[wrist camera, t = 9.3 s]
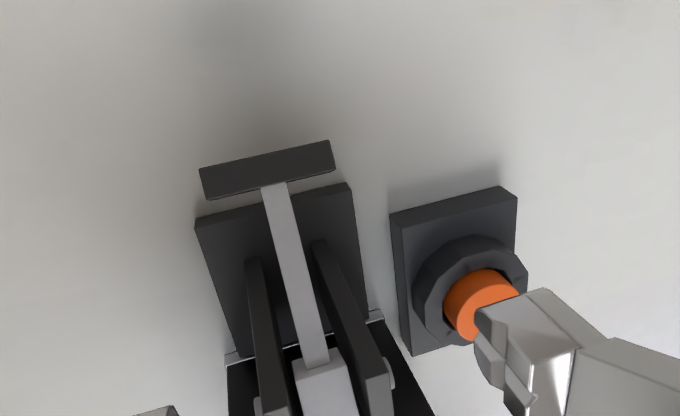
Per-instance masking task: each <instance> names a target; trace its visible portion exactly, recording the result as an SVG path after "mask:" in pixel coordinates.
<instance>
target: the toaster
mask: <svg viewBox="0 0 680 416" xmlns="http://www.w3.org/2000/svg"><path fill="white" fill-rule="evenodd" d="M365 322H366V325H367V327H368V329H369V331H370V333H371V335H372V337H373V339H374V341H375V343H376V346H377V348H378V350H379V352H380V354H381V356H382V357H385V358H386V359H387V361H388V363H389V365H390V367H391V370H392V373H393V377H394V381H395V388H394V389H392V390H391V392H392V400H393V408H394V416H435V415H434V413H433V411H432V409H431V407H430V405H429V404H428V402H427V400H426V398H425V396H424V394H423V392H422V391H421V389H420V387H419V385H418V383H417V381H416V379H415V378H414V376H413V374H412V372H411V370H410V368H409V366H408V364H407V363H406V361H405V359H404V357H403V355H402V353H401V351H400V350H399V348H398V346H397V344H396V342H395V340H394V338H393V336H392V335H391V333H390V331H389V329H388V327H387V325H386V323H385V319H384V316H383V314H382V312H381V310H380V309H378V310H374V311H371V312H369V319H368V320H365ZM324 336H325V340H326V344H327V348H328V350H329V349H332V348H335V347H337V348H338V350H339V352H340V349H339V346H338V344H337V341H336V338H335V335H334V333H333V330H331V331H328V332H325V333H324ZM282 346H283V351H284V356H285V361H286V366H287V371H288V375H289V380H290V385H291V390H292V395H293V400H294V405H295V410H296V414H297V416H304V415H303V411H302V407H301V403H300V399H299V395H298V391H297V387H296V384H295V378H294V373H293V367H292V361H293V360H297V359H300V358H303V355H302V352H301V348H300V344H299V340H298V341H295V342H292V343H288V344H285V345H282ZM340 354H341V352H340ZM341 355H342V354H341ZM224 363H225V368H226V371H227V389H228V413H229V416H256V415H255V410H254V398H256V397H260V392H259V384H258V376H257V368H256V359H255V354H252V355H249V356H245V357H242V358H240V357H239V355H238V352H234V353H231V354H227V355H225V356H224ZM350 380H351V379H350ZM351 384H352V382H351ZM352 388H353V392H354V396H355V400H356V404H357V408H358V412H359V416H364V415H363V412H362V409H361V406H360V404H359V401H358V398H357V395H356V393H355V390H354V387H353V384H352Z"/></svg>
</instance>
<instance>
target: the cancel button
mask: <svg viewBox="0 0 680 416" xmlns="http://www.w3.org/2000/svg"><path fill="white" fill-rule="evenodd" d="M516 295H519V293H518V291H517V290H516V289H515V288H514V287H513V286H512V285H511V284H510V283H509V282H508V281H507V280H506V279H505V278H504V277H503V276H502V275H500V274H499V273H498V272H496V271H494V270H491V269H478V270H474V271H471V272H468V273H466V274H465V275H464V276H463V277H461V278H460V279H459V280H458V281H456V282H455V283H454V284H453V285H452V286H451V287H450V289H449V291H448V292H447V294H446V296H445V299H444V312H445V315H446V317H447V318H448V319H449V321H450V322H451V323H452V325H453V326H454V328H455V329H456V330H457V332H458V333H459V334H460V336H462V337H463V338H464V339H466V340H469V341H473V342H474V338H475V337H476V335H477V334H478V332H479V329H478V328H477V327H476V326H475V324H474V313H475V311H476V309H477V308H480V307H483V306H486V305H489V304H492V303H495V302H498V301H501V300H504V299H507V298H510V297H513V296H516Z"/></svg>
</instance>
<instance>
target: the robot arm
mask: <svg viewBox="0 0 680 416" xmlns="http://www.w3.org/2000/svg"><path fill="white" fill-rule="evenodd" d="M474 324H475V326H476V327H477V328H478V329H479V332H478V334H477V335H476V337H475V338H474V353H475V356H476V360H477V363H478V366H479V367H480V369H481V371H482V373H483V375H484V376H485V378H486V379H487V381H488V382H489V384H490V385H492V386H494V387H496V388H498V389H500V390H502V391H504V402H503V403H504V404H505V406H506V407H507V408H508V410H509V411H510V412H511V414H512V415H513V416H680V359H677V358H674V357H671V356H669V355H666V354H663V353H660V352H657V351H654V350H651V349H648V348H645V347H642V346H639V345H636V344H633V343H631V342H628V341H625V340H622V339H619V338H616V337H614V338H610V339H607V338H606V337H605V336H604V335H602V334H601V333H600V332H599V331H598V330H596V329H595V328H594V327H593V326H592V325H591V324H589V323H588V322H587V321H586V320H585V319H584V318H582V317H581V316H580V315H579V314H578V313H576V312H575V311H574V310H573V309H572V308H571V307H569V306H568V305H567V304H566V303H565V302H564V301H562V300H561V299H560V298H559V297H558V296H556V295H555V294H554V293H553V292H552V291H551V290H549V289H547V288H544V287H542V288H539V289H535V290H532V291H529V292H526V293H523V294H521V295H516V296H513V297H510V298H507V299H504V300H501V301H498V302H495V303H492V304H489V305H486V306H483V307H480V308H477V309H476V311H475V313H474ZM134 416H179V415H178V413H177V411H176V409H175V407H174V406H170V405H169V406H165V407H162V408H159V409H155V410H152V411H148V412H145V413H141V414H138V415H134Z"/></svg>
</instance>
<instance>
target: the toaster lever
mask: <svg viewBox="0 0 680 416" xmlns="http://www.w3.org/2000/svg"><path fill="white" fill-rule="evenodd" d="M334 170H336V165H335V161H334V157H333V153H332V149H331V145H330V141H329V140H324V141H320V142H315V143H311V144H306V145H302V146H297V147H293V148H288V149H284V150H279V151H275V152H270V153H266V154H262V155H257V156H253V157H248V158H244V159H239V160H235V161H230V162H226V163H221V164H217V165H213V166H208V167H204V168H200V169H199V174H200V178H201V182H202V186H203V190H204V193H205V197H206V200H210V201H212V200H217V199H221V198H225V197H229V196H233V195H238V194H242V193H246V192H250V191H254V190H259V189H260V190H261V194H262V198H263V202H264V205H265V209H266V213H267V217H268V221H269V225H270V229H271V233H272V237H273V241H274V245H275V249H276V253H277V257H278V261H279V265H280V269H281V273H282V277H283V280H284V284H285V288H286V292H287V296H288V300H289V304H290V308H291V312H292V316H293V320H294V324H295V328H296V332H297V336H298V340H299V344H300V348H301V352H302V355H303V358H300V359H297V360H293V361H292V367H293V373H294V378H295V384H296V387H297V391H298V395H299V399H300V403H301V407H302V411H303V415H304V416H359V412H358V408H357V404H356V400H355V396H354V392H353V388H352V384H351V380H350V376H349V372H348V368H347V365H346V363H345V361H344V359H343V357H342V355H341V354H340V352H339V350H338V348H337V347H335V348H332V349H329V350H328V348H327V344H326V340H325V336H324V332H323V328H322V324H321V320H320V316H319V312H318V308H317V304H316V300H315V296H314V292H313V288H312V284H311V280H310V276H309V272H308V268H307V264H306V260H305V256H304V252H303V248H302V244H301V240H300V236H299V232H298V228H297V224H296V220H295V216H294V212H293V208H292V204H291V200H290V196H289V192H288V188H287V184H286V183H288V182H292V181H296V180H301V179H305V178H309V177H313V176H317V175H322V174H326V173H330V172H332V171H334Z"/></svg>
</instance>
